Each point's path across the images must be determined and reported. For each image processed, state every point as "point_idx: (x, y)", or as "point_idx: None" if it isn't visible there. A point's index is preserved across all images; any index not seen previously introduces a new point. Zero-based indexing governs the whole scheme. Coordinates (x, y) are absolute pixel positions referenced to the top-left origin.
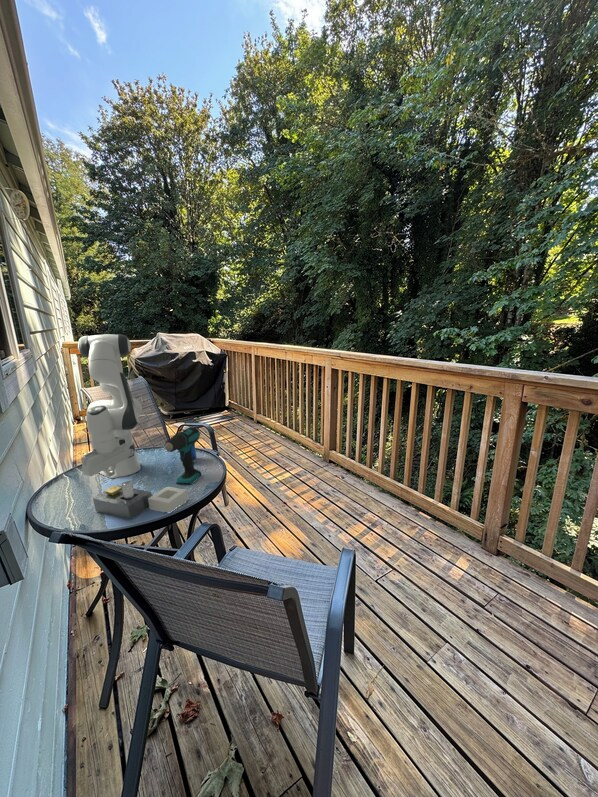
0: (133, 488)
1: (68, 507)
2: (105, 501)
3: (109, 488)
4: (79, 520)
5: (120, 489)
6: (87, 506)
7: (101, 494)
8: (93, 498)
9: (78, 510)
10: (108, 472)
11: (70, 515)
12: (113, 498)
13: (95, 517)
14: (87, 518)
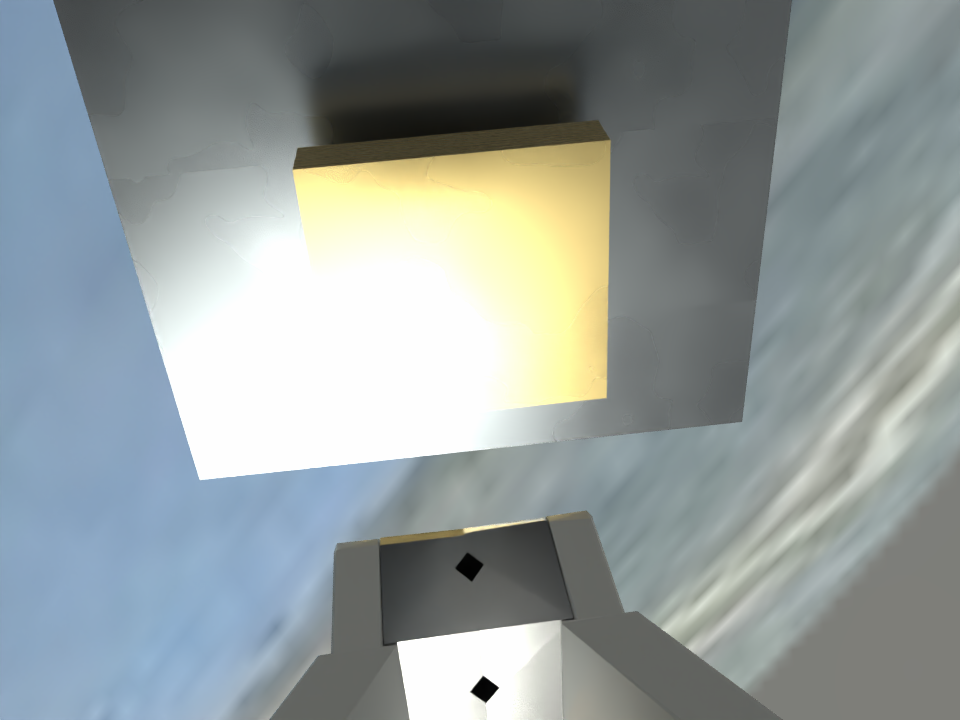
0: (60, 4)
1: (692, 640)
2: (776, 91)
3: (478, 390)
4: (913, 274)
5: (359, 151)
6: (607, 495)
7: (585, 417)
8: (741, 411)
9: (713, 501)
10: (633, 656)
11: (829, 478)
12: (634, 25)
13: (807, 133)
14: (852, 221)
